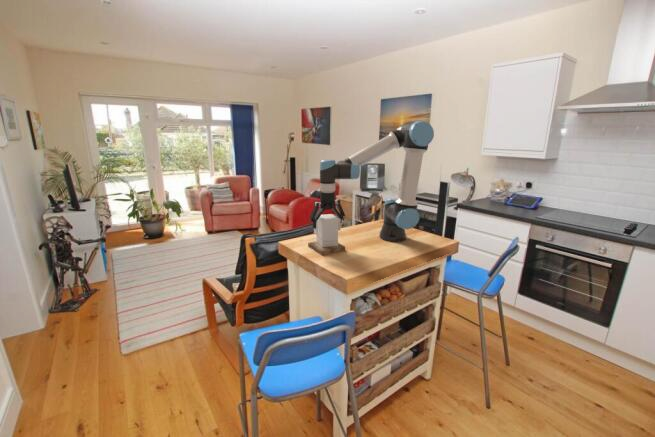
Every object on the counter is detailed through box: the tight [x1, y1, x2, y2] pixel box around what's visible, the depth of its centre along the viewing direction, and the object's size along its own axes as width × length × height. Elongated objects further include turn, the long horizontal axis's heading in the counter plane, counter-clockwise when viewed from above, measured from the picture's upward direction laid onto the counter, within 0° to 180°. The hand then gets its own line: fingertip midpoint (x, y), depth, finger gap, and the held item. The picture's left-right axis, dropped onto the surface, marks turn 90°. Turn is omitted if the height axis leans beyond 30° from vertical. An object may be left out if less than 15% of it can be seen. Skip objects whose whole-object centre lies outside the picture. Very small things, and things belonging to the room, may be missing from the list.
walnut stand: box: [307, 240, 346, 256], centre depth 161 cm, size 14×14×2 cm
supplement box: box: [316, 213, 339, 247], centre depth 159 cm, size 9×9×15 cm
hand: (327, 232), depth 159 cm, fingers open, 13 cm apart
